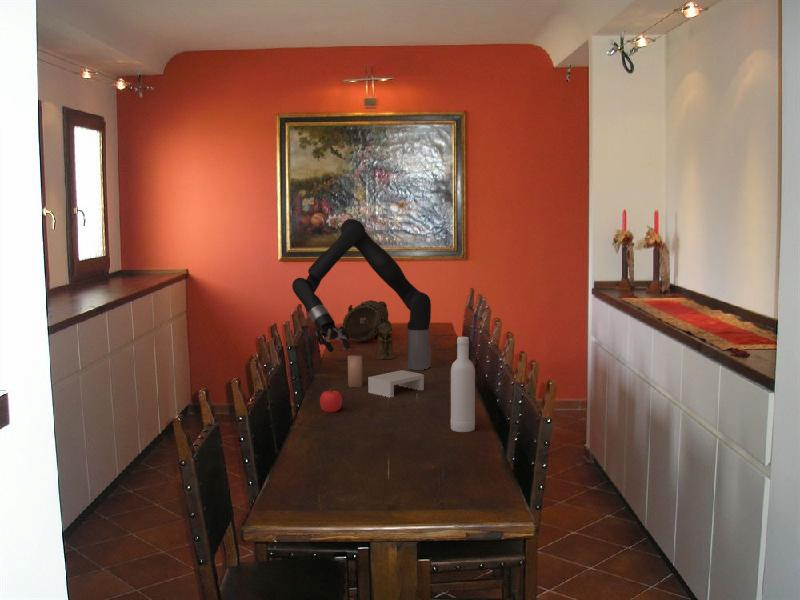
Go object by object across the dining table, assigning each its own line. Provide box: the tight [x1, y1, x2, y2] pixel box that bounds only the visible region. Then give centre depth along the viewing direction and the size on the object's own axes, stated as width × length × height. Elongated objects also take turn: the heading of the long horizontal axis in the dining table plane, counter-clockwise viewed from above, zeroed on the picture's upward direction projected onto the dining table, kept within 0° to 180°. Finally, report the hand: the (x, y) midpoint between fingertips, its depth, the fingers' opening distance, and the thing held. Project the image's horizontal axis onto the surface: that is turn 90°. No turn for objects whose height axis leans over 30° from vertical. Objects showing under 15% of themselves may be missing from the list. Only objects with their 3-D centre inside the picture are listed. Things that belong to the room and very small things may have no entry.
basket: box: [342, 300, 393, 342], centre depth 459 cm, size 24×22×35 cm
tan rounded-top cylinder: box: [347, 354, 363, 389], centre depth 350 cm, size 6×6×12 cm
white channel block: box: [367, 369, 425, 398], centre depth 342 cm, size 18×12×6 cm, turn 135°
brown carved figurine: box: [374, 322, 396, 361], centre depth 405 cm, size 9×14×18 cm, turn 0°
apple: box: [319, 388, 343, 413], centre depth 312 cm, size 8×8×8 cm
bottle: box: [450, 336, 476, 433], centre depth 286 cm, size 8×8×30 cm
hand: (340, 349), depth 355 cm, fingers open, 8 cm apart
